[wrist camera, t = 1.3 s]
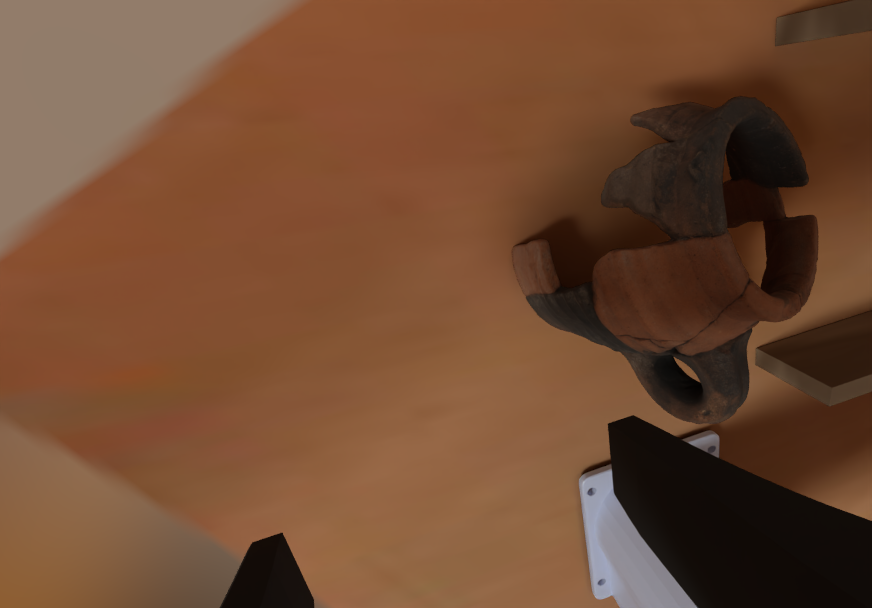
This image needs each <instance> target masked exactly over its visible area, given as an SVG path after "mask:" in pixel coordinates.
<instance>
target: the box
mask: <svg viewBox="0 0 872 608" xmlns="http://www.w3.org/2000/svg"><path fill="white" fill-rule="evenodd" d="M871 30H872V0H851V1H846V2H842V3H838V4H834V5H829V6H825V7H821V8H817V9H812V10H808V11H804V12H800V13H795V14H791V15H787V16H782V17H778V18H777V26H776V42H775V46H779V45H785V44H791V43H798V42H804V41H810V40H816V39H822V38H828V37H834V36H841V35H847V34H853V33H859V32H865V31H871ZM756 365H757V366H759V367H760V368H762V369H764V370H766V371H767V372H769V373H771V374H773V375H774V376H776V377H778V378H780V379H782V380H783V381H785V382H787V383H789V384H790V385H792V386H794V387H796V388H797V389H799V390H801V391H803V392H805V393H806V394H808V395H810V396H812V397H813V398H815V399H817V400H819V401H820V402H822V403H824V404H826V405H827V406H829V407H830V406H832V405H835V404H838V403H841V402H844V401H847V400H850V399H852V398H855V397H858V396H861V395H864V394H867V393H869V392H872V311H869V312H866V313H863V314H860V315H857V316H854V317H851V318H848V319H844V320H841V321H838V322H835V323H832V324H829V325H826V326H823V327H820V328H817V329H814V330H811V331H808V332H805V333H802V334H799V335H796V336H793V337H789V338H786V339H783V340H780V341H777V342H774V343H771V344H768V345H765V346H762V347H759V348H757V349H756Z"/></svg>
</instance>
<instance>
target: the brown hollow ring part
mask: <svg viewBox="0 0 872 608" xmlns="http://www.w3.org/2000/svg"><path fill="white" fill-rule="evenodd" d="M630 122H631V123H632V124H633V125H634V126H639V127H643V128H647V129H649V130H652V131H654V132H655V133H656V134H658V135H659V136H661V137H662V138H663V139H665V140H666V141H668V142H669V143H663V144H656V145H654V146H652V147H650V148H648V149H646V150H644V151H642V152H641V153H640V154H638V155H637V156H636V157H635V158H634V159H633V160H632V161H631V162H630V163H629V164H627V165H626V166H623V167H620V168H618V169H616V170H614V171H613V172H612V173H611V174H610V175H609V177H608V179H607V181H606V183H605V186H604V189H603V191H602V194H601V203H602V205H603V206H605V207H609V208H623V207H629V208H630V209H631V210H632V211H633V212H634V213H636V214H639V215H640V216H642V217H644V218H646V219H648V220H649V221H651V222H653V223H655V224H656V225H657V226H658V227H659V228H660V229H661V230H662V231H664V232H665V233H666V234H668V235H669V236H670V237H671V240H670V241H667V242H664V243H659V244H655V245H651V246H645V247H639V248H632V249H614V250H611V251H609V252H608V254H607V255H604V256H603V257H601V258H600V259H599V260H598V261H597V263H596V264H595V265H594V268H593V282H588V283H584V284H582V285H580V286H576V287H574V288H566V287H562V286H561V284H560V281H559V278H558V276H557V274H556V271H555V267H554V264H553V259H552V255H551V250H550V244H549V242H548V241H547V240H545V239H537V240H533V241H530V242H529V243H528V244H520V245H516V246H514V247H513V249H512V257H513V266H514V270H515V273H516V276H517V280H518V282H519V285H520V287H521V289H522V291H523V293H524V295H525V296H526V299H527V301H528V303H529V304H530V306H531V307H532V308H533V309H534V310H535V312H536V313H537V315H538V316H540V317H541V318H542V319H543V320H545V321H546V322H547V323H549V324H550V325H552V326H554V327H555V328H558V329H560V330H564V331H568V332H572V333H574V334H577V335H579V336H582V337H585V338H587V339H588V340H590V341H592V342H594V343H597V344H600V345H605V346H607V347H609V348H611V349H612V350H614V351H619V352H621V353H622V354H623V355H624V356H625V357H626V358H627V360H628V361H629V363H630V364H631V366H632V368H633V370H634V372H635V373H636V376H637V377H638V379H639V381H640V382H641V384H642V385H643V387H644V388H645V390H646V391H647V392H648V394H649V395H650V396H651V397H652V399H653V400H654V401H655V402H656V403H657V404H658V405H660V406H661V407H662V408H663V409H664V410H665V411H667V412H668V413H669V414H671V415H673V416H675V417H676V418H679V419H681V420H683V421H687V422H693V423H696V424H703V423H708V424H716V423H720V422H723V421H725V420H727V419H729V418H730V417H731V416H732V415H733V414H734V413H735V412H736V410H737V409H738V408H739V407H740V406H741V405H742V404H743V403H744V401H745V400H746V398H747V394H748V390H749V370H748V362H747V343H748V340H749V337H750V335H751V332H752V328H753V327H754V326H756V325H757V324H758V322H759V321H768V322H780V321H784V320H787V319H790V318H792V317H793V316H794V315H796V314H797V313H798V312H799V311H800V310H801V307H802V306H804V305H805V303H806V302H807V300H808V297H809V295H810V292H811V288H812V286H813V283H814V279H815V274H816V263H817V260H818V225H817V219H816V217H815V216H814V215H805V216H796V217H786V214H785V211H784V205H783V201H782V198H781V195H780V193H779V190H778V187H801V186H804V185H806V184H807V183H808V181H809V178H808V174H807V171H806V165H805V161H804V159H803V157H802V155H801V152H800V150H799V147H798V145H797V143H796V141H795V140H794V137H793V135H792V133H791V132H790V130H789V129H788V128H787V126H786V125H785V123H784V122H783V121H782V119H781V118H780V117H779V116H778V114H776V113H775V112H774V111H773V110H772V109H771V108H769V107H766V106H765V104H763V103H762V102H760V101H759V100H757V99H756V98H748V97H743V96H740V97H734V98H732V99H730V100H728V101H727V102H726V103H725V104H724V105H722V106H720V107H718V108H715V109H714V108H712V107H708V106H704V105H700V104H697V103H693V102H687V103H681V104H677V105H672V106H665V107H661V108H653V109H650V110H646V111H643V112H640V113H637V114H634V115H633V116H631V118H630ZM725 151H726V156H727V161H728V166H729V170H730V176H731V178H732V179H731V180H728V181H726V182H724V183H723V168H724V157H725ZM755 221H763V225H764V230H765V243H766V256H767V261H766V269H765V272H764V275H763V278H762V283H761V288H760V287H759V286H758V285H757V284H756V283H755V282H754V281H752V280H751V279H750V278H749V274H748V272H747V271H746V269H745V267H744V266H743V264H742V262H741V259H740V257H739V255H738V253H737V250H736V248H735V246H734V244H733V241H732V237H731V235H730V233H729V232H728V230H727V228H735V227H738V226H740V225H742V224H744V223H747V222H755ZM673 356H674V357H675V358H677V359H679V360H681V361H682V362H684V363H685V364H687V365H688V366H689V367H690V368H691V369H692V370H693V371H694V372H695V373H696V375H697V376H698V378H699V380H700V382H701V383H700V382H698V381H696V380H694V379H692V378H691V377H689V376H688V375H687V374H686V373H685V372H684V371H683V370H682V369H681V368H680V367H679V366H678V365H677V363H676V362H675V360H674V357H673Z"/></svg>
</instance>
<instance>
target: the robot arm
mask: <svg viewBox="0 0 872 608" xmlns="http://www.w3.org/2000/svg"><path fill="white" fill-rule="evenodd" d="M608 431H609V443H610V455H611V464H610V465H607V466H604V467H601V468H598V469H595V470H593V471H590V472H587V473H585V474H583V475H582V476H581V478H580V479H579V488H580V496H581V504H582V512H583V520H584V529H585V537H586V545H587V553H588V561H589V569H590V577H591V586H592V592H593V594H594V596H595V597H596V598H597V599H604V598H607V597H609V596H612V595H613V597H614V598H615V600H616V602H617V603H618V605H619V606H620V608H872V521H870V520H867V519H865V518H862V517H859V516H856V515H854V514H851V513H848V512H845V511H843V510H840V509H837V508H834V507H832V506H829V505H826V504H824V503H821V502H818V501H816V500H813V499H811V498H808V497H806V496H803V495H801V494H798V493H796V492H794V491H791V490H789V489H787V488H784V487H782V486H780V485H777V484H775V483H773V482H770V481H768V480H766V479H763V478H761V477H759V476H757V475H754V474H752V473H750V472H748V471H745V470H743V469H741V468H739V467H737V466H735V465H733V464H730V463H728V462H726V461H724V460H722V459H720V458H719V440H720V439H719V436H718V435H717V434H716V433H715V432H714V431H711V430H710V431H705V432H702V433H700V434H697V435H694V436H691V437H688V438H685V439H682V440H681V439H679V438H678V437H676V436H674V435H672V434H670V433H668V432H666V431H664V430H662V429H660V428H658V427H656V426H654V425H652V424H650V423H648V422H646V421H644V420H642V419H640V418H638V417H636V416H633V415H632V416H630V417H627V418H624V419H621V420H618V421H615V422H612V423H609V424H608ZM590 488H591V489H590ZM589 489H590V490H589ZM220 608H314V599H313V597H312V595H311V592H310V590H309V588H308V586H307V584H306V582H305V580H304V578H303V575H302V573H301V571H300V569H299V567H298V565H297V563H296V561H295V558H294V556H293V554H292V552H291V550H290V548H289V546H288V544H287V541H286V539H285V537H284V535H283V533H280V534H277V535H274V536H271V537H268V538H265V539H262V540H259V541H256V542H253V543H252V544H251V545H250V547H249V549H248V551H247V553H246V555H245V557H244V559H243V561H242V563H241V565H240V568H239V570H238V571H237V574H236V576H235V578H234V580H233V582H232V584H231V586H230V588H229V590H228V592H227V594H226V597H225V598H224V600H223V603H222V604H221V606H220Z"/></svg>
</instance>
